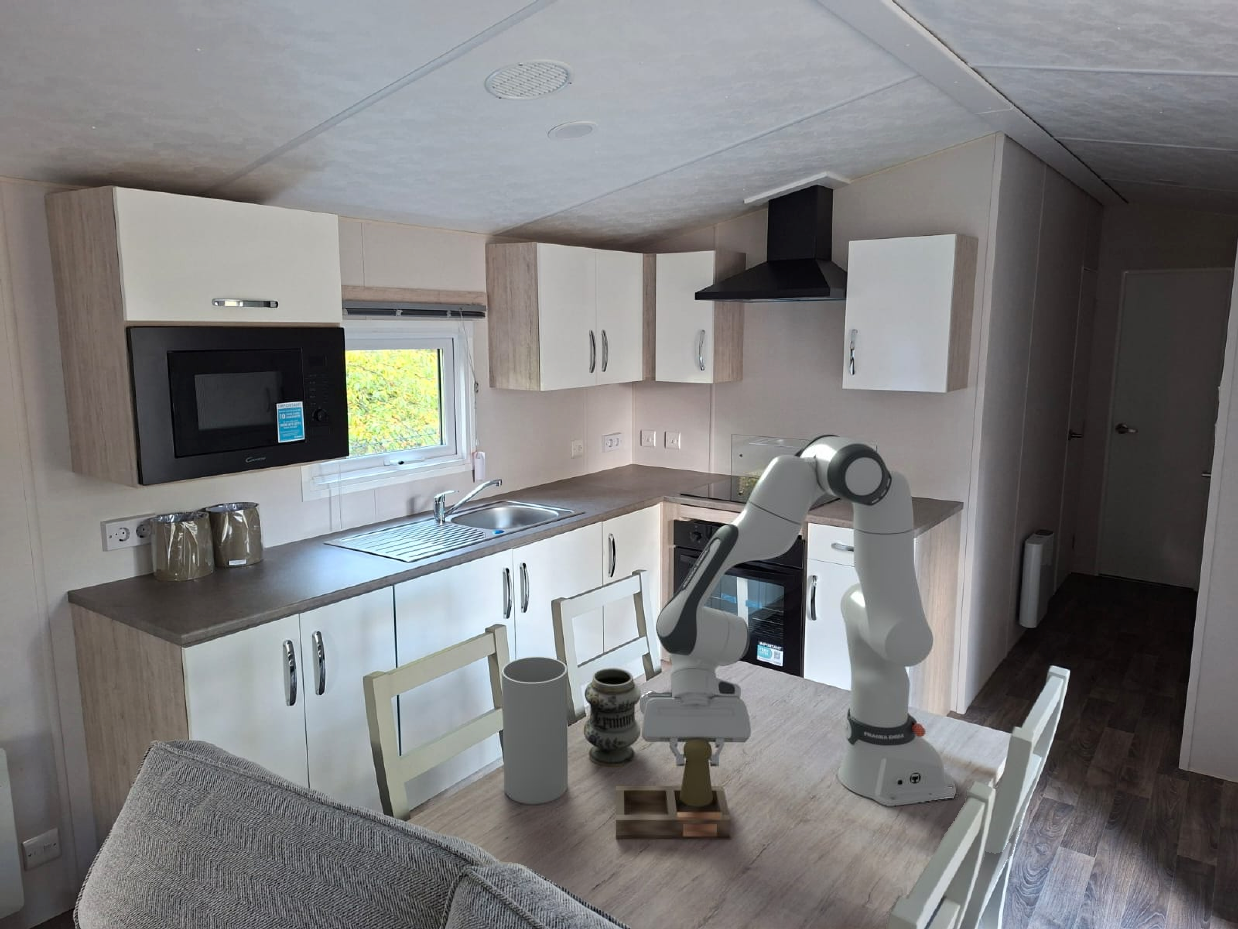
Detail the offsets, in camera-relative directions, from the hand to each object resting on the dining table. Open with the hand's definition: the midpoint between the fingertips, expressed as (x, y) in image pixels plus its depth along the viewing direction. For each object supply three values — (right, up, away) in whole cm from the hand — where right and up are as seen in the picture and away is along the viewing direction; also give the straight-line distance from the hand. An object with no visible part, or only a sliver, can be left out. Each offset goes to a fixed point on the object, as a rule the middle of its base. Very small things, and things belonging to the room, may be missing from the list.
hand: (697, 765), depth 155 cm
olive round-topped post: (0, -7, +2) cm, 7 cm away
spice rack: (-5, -11, +3) cm, 12 cm away
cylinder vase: (-31, -9, +13) cm, 35 cm away
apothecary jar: (-16, -7, +26) cm, 31 cm away
